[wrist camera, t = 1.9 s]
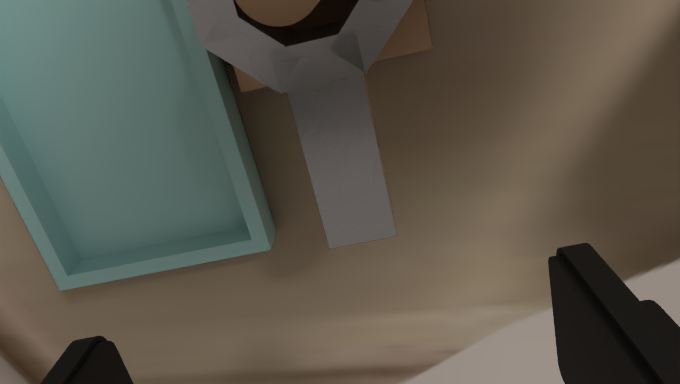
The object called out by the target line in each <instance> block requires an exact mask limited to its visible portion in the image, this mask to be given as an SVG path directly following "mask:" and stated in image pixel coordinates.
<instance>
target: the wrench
mask: <svg viewBox="0 0 680 384" xmlns="http://www.w3.org/2000/svg"><path fill="white" fill-rule="evenodd" d="M186 1H187V4H188V7H189V10H190V13H191V17H192V20H193V23H194V26H195V29H196V32H197V35H198V38H199V41H200V44H201V45H203V46H202V47H203V48H205V49H207V50H208V51H210V52H212V53H213V54H215V55H217V56H218V57H220V58H222V59H223V60H225V61H227V62H228V63H230V64H232V65H233V66H235V67H236V68H238V69H240V70H241V71H243V72H245V73H246V74H248V75H250V76H251V77H253V78H255V79H256V80H258V81H260V82H261V83H263V84H265V85H266V86H268V87H269V88H271V89H273V90H274V91H276V92H278V93H280V92H281V94H282V93H286V92H287V95H288V99H289V102H290V106H291V109H292V113H293V117H294V120H295V124H296V128H297V131H298V135H299V139H300V142H301V146H302V150H303V153H304V157H305V161H306V164H307V168H308V171H309V175H310V179H311V182H312V186H313V190H314V193H315V197H316V201H317V204H318V208H319V212H320V215H321V219H322V223H323V226H324V230H325V233H326V237H327V241H328V244H329V248H330V249H331V248H337V247H342V246H347V245H352V244H357V243H363V242H368V241H373V240H378V239H383V238H388V237H394V236H397V233H396V227H395V220H394V214H393V207H392V202H391V197H390V193H389V188H388V183H387V179H386V174H385V169H384V165H383V160H382V155H381V151H380V146H379V141H378V137H377V132H376V127H375V123H374V118H373V113H372V109H371V104H370V99H369V95H368V90H367V85H366V81H365V76H364V75H365V73H366V74H367V72H368V70H369V69H370V67H371V66H372V64H373V63H374V61H375V59H376V58H377V56H378V55H379V53H380V52H381V50H382V49H383V47H384V45H385V44H386V42H387V41H388V39H389V38H390V36H391V35H392V33H393V31H394V30H395V28H396V27H397V25H398V24H399V22H400V21H401V19H402V17H403V16H404V14H405V13H406V11H407V10H408V8H409V6H410V5H411V3H412V2H413V0H353V2H352V3H351V5H350V7H349V8H348V10H347V12H346V13H345V15H344V17H343V18H342V20H341V21H339V22H335V23H331V24H326V25H322V26H318V27H314V28H310V29H306V30H301V31H296V30H294V29H293V28H291V27H289V26H278V27H276V26H269V25H265V24H262V23H259V22H257V21H256V20H254V19H252V18H251V17H249V16H248V15H247V14H246V13H245V12H244V11H243V10H242V9H241V8H240V7H239V5H238V4H237V2H236V1H235V0H186Z"/></svg>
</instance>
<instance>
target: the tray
mask: <svg viewBox="0 0 680 384" xmlns="http://www.w3.org/2000/svg"><path fill="white" fill-rule="evenodd" d="M202 46H203V45H201V44H200V41H199V38H198V35H197V32H196V29H195V26H194V23H193V20H192V17H191V13H190V10H189V7H188V4H187V1H186V0H0V176H1V178H2V180H3V182H4V184H5V186H6V188H7V190H8V192H9V194H10V196H11V198H12V200H13V201H14V203H15V205H16V207H17V209H18V211H19V213H20V215H21V217H22V219H23V221H24V223H25V225H26V227H27V228H28V230H29V232H30V234H31V236H32V238H33V240H34V242H35V244H36V246H37V248H38V250H39V252H40V254H41V255H42V257H43V259H44V261H45V263H46V265H47V267H48V269H49V271H50V273H51V275H52V277H53V279H54V280H55V282H56V284H57V286H58V288H59V290H60V291H63V290H68V289H74V288H79V287H84V286H89V285H94V284H99V283H104V282H110V281H115V280H120V279H125V278H130V277H135V276H140V275H145V274H151V273H156V272H161V271H166V270H171V269H176V268H181V267H187V266H192V265H197V264H202V263H207V262H212V261H217V260H222V259H228V258H233V257H238V256H243V255H248V254H253V253H258V252H264V251H269V250H271V248H272V245H273V241H274V238H275V234H276V231H277V230H276V227H275V224H274V221H273V218H272V214H271V211H270V208H269V205H268V202H267V198H266V195H265V192H264V189H263V186H262V183H261V179H260V176H259V173H258V170H257V167H256V163H255V160H254V157H253V154H252V151H251V148H250V144H249V141H248V138H247V135H246V132H245V128H244V125H243V122H242V119H241V116H240V112H239V109H238V106H237V103H236V100H235V97H234V93H233V90H232V87H231V84H230V81H229V77H228V74H227V71H226V68H225V65H224V62H223V59H222V58H220V57H218V56H217V55H215V54H213V53H212V52H210V51H208V50H207V49H205V48H203V47H202Z"/></svg>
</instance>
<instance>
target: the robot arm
mask: <svg viewBox="0 0 680 384" xmlns="http://www.w3.org/2000/svg"><path fill="white" fill-rule="evenodd" d="M548 266H549V276H550V286H551V296H552V306H553V316H554V325H555V336H556V346H557V356H558V365H559V369H560V372H561V376H562V378H563V381H564V383H565V384H680V327H679V326H678V325H677V324H676V323H675V322H674V321H673V320H672V319H671V317H670V316H669V315H668V314H667V313H666V312H665V311H664V310H663V309H662V308H661V307H660V306H659V305H658V304H657V303H655V302H654V301H652V300H644V301H639V300H638V299H637V297H636V296H635V295H634V294H633V293H632V292H631V291H630V289H629V288H628V287H627V286H626V285H625V284H624V283H623V282H622V280H621V279H620V278H619V277H618V276H617V275H616V274H615V272H614V271H613V270H612V269H611V268H610V267H609V266H608V265H607V263H606V262H605V261H604V260H603V259H602V258H601V257H600V256H599V254H598V253H597V252H596V251H595V250H594V249H593V248H592V246H591V245H590V244H588V243H582V244H577V245H571V246H566V247H561V248H558V249H557V253H556V256H553V257H549V260H548ZM41 384H133V382H132V380H131V378H130V375H129V373H128V371H127V369H126V367H125V365H124V363H123V361H122V359H121V357H120V354H119V352H118V350H117V348H116V346H115V345H114V343H113V342H112V341H107V340H106V339H105V338H104V337H103V336H96V337H90V338H85V339H80V340H76V341H73V342H72V343H71V344H70V345H69V346H68V348H67V349H66V350H65V352H64V353H63V354H62V356H61V357H60V358H59V360H58V361H57V362H56V364H55V365H54V366H53V368H52V369H51V370H50V372H49V373H48V374H47V376H46V377H45V378H44V380H43V381H42V382H41Z"/></svg>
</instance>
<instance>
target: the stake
mask: <svg viewBox="0 0 680 384" xmlns="http://www.w3.org/2000/svg"><path fill="white" fill-rule="evenodd" d="M235 1H236V2H237V4H238V5H239V7H240V8H241V9H242V10H243V11H244V12H245V13H246V14H247V15H248V16H249V17H251V18H252V19H254V20H256V21H257V22H259V23H262V24H265V25H269V26H276V27H278V26H289V27H291V28H293V29H294V30H296V31H301V30H306V29H310V28H314V27H318V26H322V25H326V24H331V23H335V22H339V21H341V20H342V18H343V17H344V15H345V13H346V12H347V10H348V8H349V7H350V5H351V3H352V2H353V0H235ZM430 49H433V48H432V42H431V36H430V29H429V23H428V17H427V11H426V5H425V0H413V2H412V3H411V5H410V6H409V8H408V10H407V11H406V13H405V14H404V16H403V17H402V19H401V21H400V22H399V24H398V25H397V27H396V28H395V30H394V31H393V33H392V35H391V36H390V38H389V39H388V41H387V42H386V44H385V45H384V47H383V49H382V50H381V52H380V53H379V55H378V56H377V58H376V59H375V61H374V62H377V61H382V60H386V59H390V58H395V57H399V56H403V55H408V54H412V53H417V52H421V51H425V50H430ZM233 67H234V70H235V74H236V77H237V80H238V83H239V87H240V90H241V93H243V92H247V91H251V90H256V89H260V88H264V87H268V86H266V85H265V84H263V83H261V82H260V81H258V80H256V79H255V78H253V77H251V76H250V75H248V74H246V73H245V72H243V71H241V70H240V69H238V68H236V67H235V66H233Z"/></svg>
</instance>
